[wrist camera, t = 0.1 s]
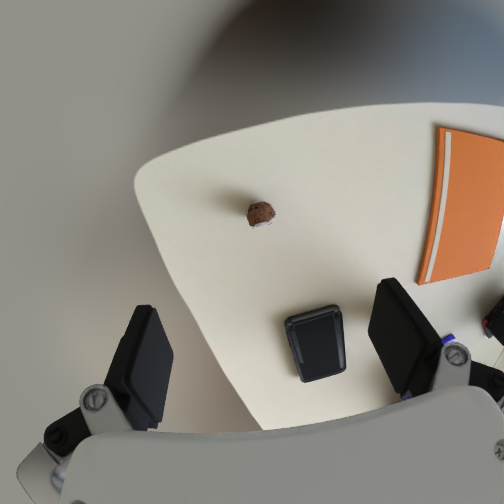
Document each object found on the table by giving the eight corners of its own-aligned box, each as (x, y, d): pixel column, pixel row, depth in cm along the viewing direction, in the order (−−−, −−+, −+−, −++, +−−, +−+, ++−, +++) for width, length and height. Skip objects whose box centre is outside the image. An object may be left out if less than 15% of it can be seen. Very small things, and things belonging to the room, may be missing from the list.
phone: (341, 307, 34) (346, 371, 40) (338, 302, 35) (344, 366, 41) (282, 324, 34) (301, 384, 41) (281, 318, 35) (300, 379, 42)
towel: (436, 126, 24) (440, 127, 23) (509, 143, 24) (512, 144, 23) (416, 283, 34) (418, 285, 34) (487, 266, 34) (489, 268, 34)
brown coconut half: (271, 194, 28) (276, 206, 24) (275, 214, 29) (281, 228, 25) (242, 201, 28) (243, 214, 24) (248, 220, 29) (249, 236, 25)
